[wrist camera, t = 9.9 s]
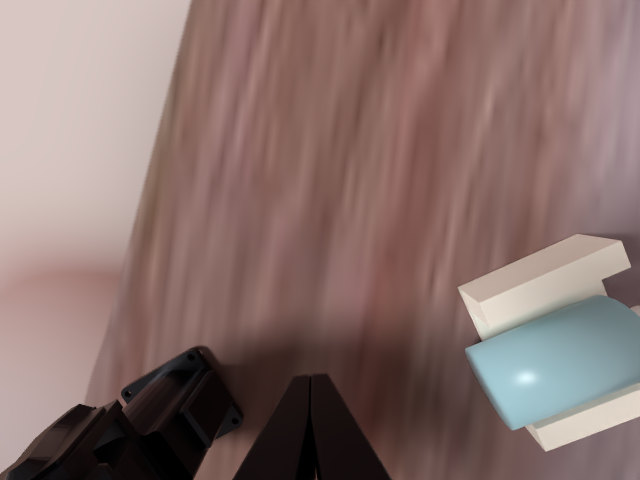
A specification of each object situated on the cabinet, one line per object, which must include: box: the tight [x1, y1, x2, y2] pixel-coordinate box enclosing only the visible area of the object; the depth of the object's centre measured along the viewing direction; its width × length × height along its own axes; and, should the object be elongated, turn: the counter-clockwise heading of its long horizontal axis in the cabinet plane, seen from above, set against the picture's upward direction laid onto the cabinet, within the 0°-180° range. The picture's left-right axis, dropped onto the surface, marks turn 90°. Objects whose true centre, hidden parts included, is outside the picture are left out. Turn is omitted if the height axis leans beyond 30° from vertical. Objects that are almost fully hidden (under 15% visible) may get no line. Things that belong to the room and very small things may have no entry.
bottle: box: [465, 295, 640, 431], centre depth 18 cm, size 5×5×10 cm
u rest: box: [458, 234, 640, 452], centre depth 19 cm, size 8×10×3 cm
